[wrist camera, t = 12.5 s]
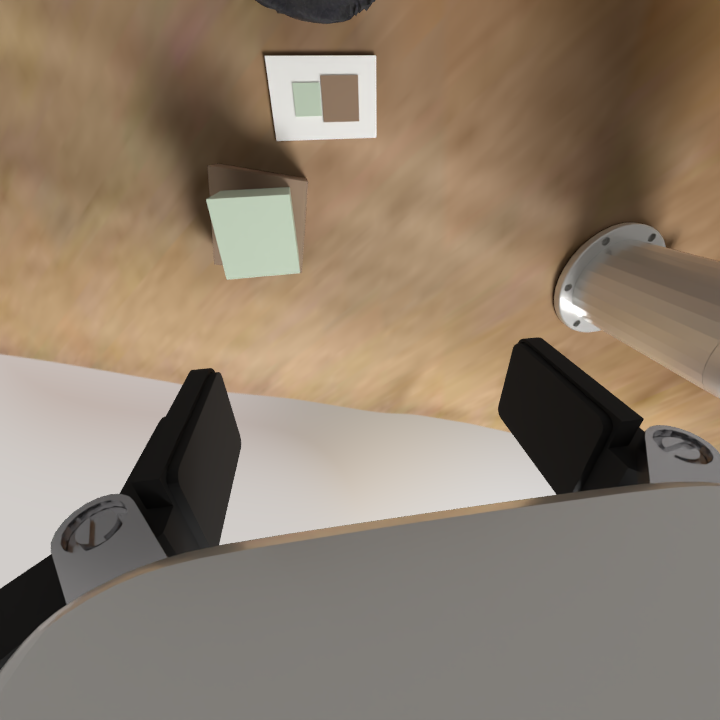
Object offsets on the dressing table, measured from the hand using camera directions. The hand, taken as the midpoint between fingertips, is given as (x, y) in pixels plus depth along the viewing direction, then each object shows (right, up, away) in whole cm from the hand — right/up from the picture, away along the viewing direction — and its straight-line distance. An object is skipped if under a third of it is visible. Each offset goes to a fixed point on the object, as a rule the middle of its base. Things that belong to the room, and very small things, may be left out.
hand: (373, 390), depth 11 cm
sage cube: (-8, +12, +15) cm, 21 cm away
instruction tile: (-3, +21, +15) cm, 26 cm away
